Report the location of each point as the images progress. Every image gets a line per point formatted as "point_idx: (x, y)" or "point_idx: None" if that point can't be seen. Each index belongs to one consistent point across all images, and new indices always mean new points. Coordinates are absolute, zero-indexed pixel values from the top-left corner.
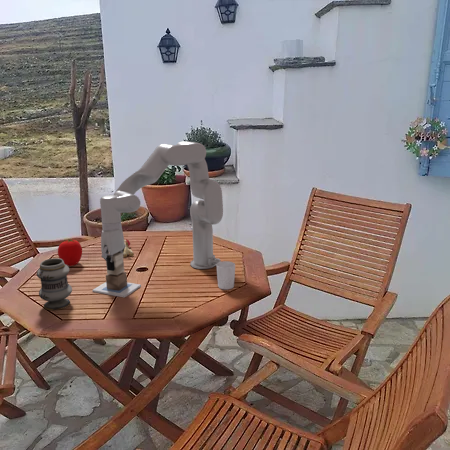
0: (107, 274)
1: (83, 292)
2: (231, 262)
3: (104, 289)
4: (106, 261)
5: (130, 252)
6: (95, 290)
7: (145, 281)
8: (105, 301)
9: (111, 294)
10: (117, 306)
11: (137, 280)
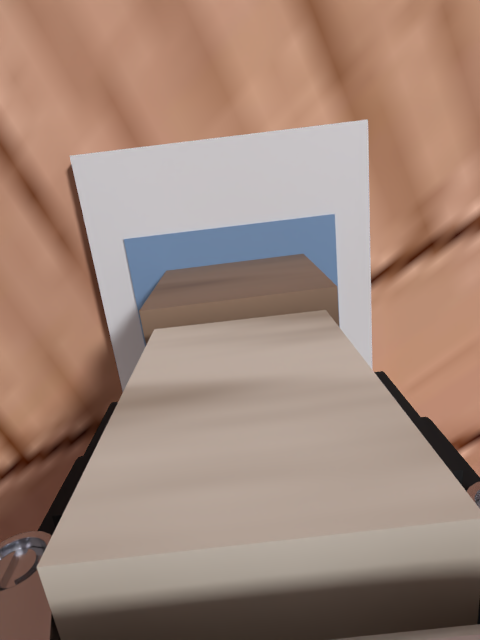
0: (173, 310)
1: (9, 78)
2: None
3: (140, 263)
4: (104, 446)
5: None
6: (79, 195)
7: (469, 416)
8: (14, 400)
9: (120, 367)
10: (15, 518)
11: (467, 348)
